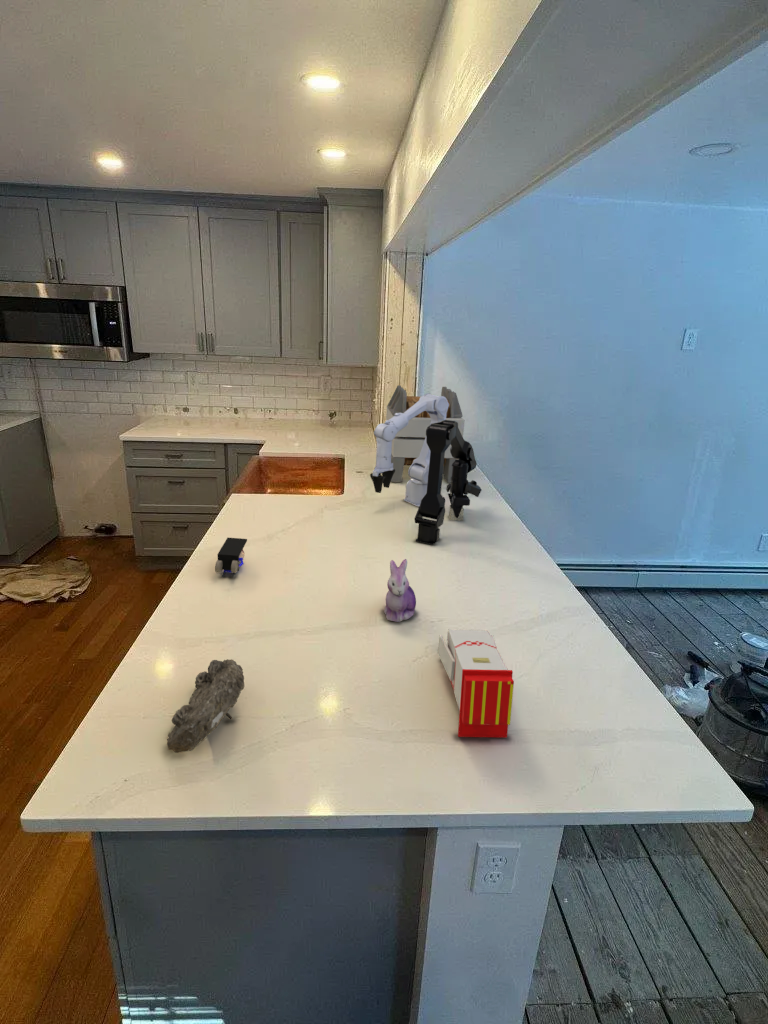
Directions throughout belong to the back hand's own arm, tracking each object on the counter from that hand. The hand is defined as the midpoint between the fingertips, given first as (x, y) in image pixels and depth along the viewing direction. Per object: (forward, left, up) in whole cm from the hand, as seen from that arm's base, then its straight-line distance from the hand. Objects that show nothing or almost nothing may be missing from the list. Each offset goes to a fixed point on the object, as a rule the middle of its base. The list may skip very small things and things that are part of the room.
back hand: (382, 489), depth 220 cm
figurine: (+66, -45, -8) cm, 80 cm away
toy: (+99, -52, -8) cm, 113 cm away
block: (+22, +19, -8) cm, 30 cm away
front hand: (+22, +19, -7) cm, 30 cm away
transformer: (-33, +48, -8) cm, 59 cm away
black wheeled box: (+19, -70, -8) cm, 73 cm away
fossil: (+77, -99, -8) cm, 126 cm away
